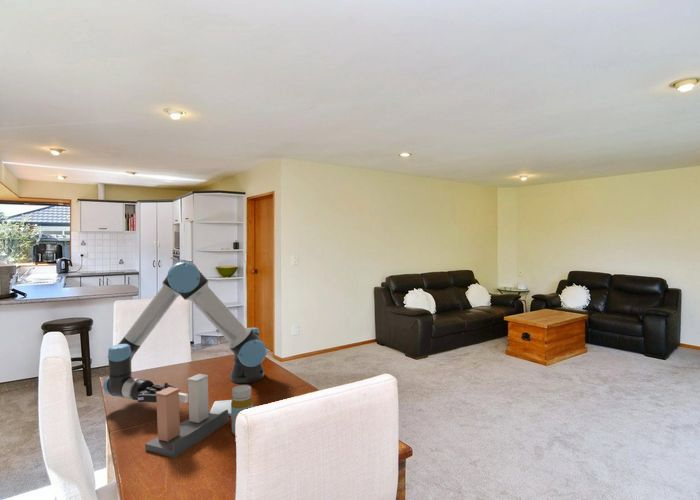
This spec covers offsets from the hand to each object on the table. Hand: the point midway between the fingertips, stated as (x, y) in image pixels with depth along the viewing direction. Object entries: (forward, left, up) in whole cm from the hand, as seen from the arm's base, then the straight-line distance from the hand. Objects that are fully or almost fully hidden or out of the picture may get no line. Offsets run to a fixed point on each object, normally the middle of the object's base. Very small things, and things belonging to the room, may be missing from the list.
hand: (186, 398), depth 138 cm
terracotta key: (+8, +11, -7) cm, 15 cm away
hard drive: (-14, -3, -10) cm, 17 cm away
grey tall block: (-3, +4, -7) cm, 8 cm away
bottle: (-13, +19, -9) cm, 25 cm away
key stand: (+2, +9, -9) cm, 13 cm away
